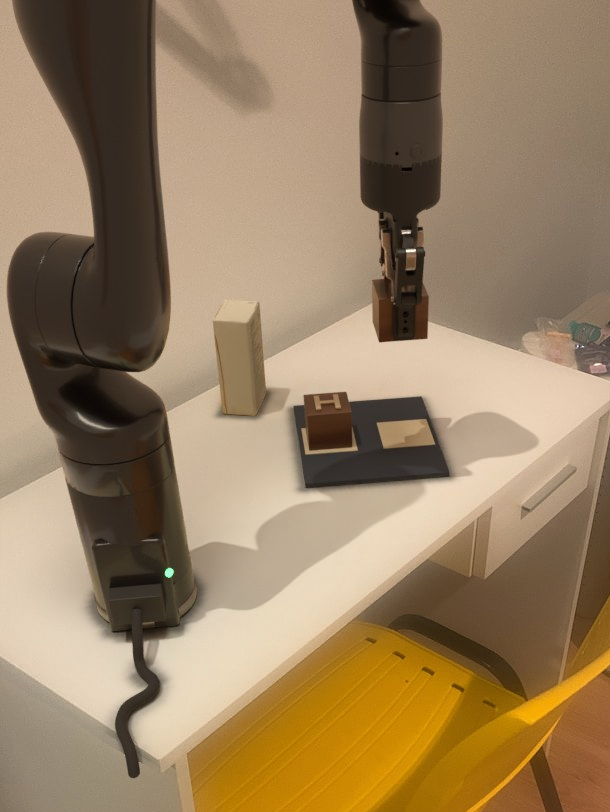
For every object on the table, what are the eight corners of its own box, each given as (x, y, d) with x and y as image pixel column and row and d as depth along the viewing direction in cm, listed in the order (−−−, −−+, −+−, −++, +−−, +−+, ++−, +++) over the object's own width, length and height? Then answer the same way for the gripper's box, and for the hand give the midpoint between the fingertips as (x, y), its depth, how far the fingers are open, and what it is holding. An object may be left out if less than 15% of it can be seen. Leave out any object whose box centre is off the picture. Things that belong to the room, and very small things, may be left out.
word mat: (449, 476, 106) (449, 471, 106) (305, 488, 105) (305, 482, 105) (421, 400, 120) (421, 395, 119) (293, 409, 118) (293, 404, 118)
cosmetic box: (234, 391, 122) (224, 297, 114) (268, 393, 122) (260, 299, 114) (221, 415, 118) (210, 319, 110) (257, 417, 117) (248, 321, 109)
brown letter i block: (427, 339, 97) (428, 293, 94) (378, 342, 97) (378, 297, 94) (419, 318, 101) (420, 274, 98) (372, 321, 101) (371, 277, 97)
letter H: (352, 447, 110) (351, 410, 107) (309, 450, 110) (307, 413, 107) (347, 426, 114) (346, 389, 111) (305, 429, 113) (303, 392, 110)
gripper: (350, 129, 92) (355, 301, 104) (369, 174, 82) (372, 361, 93) (427, 124, 93) (423, 296, 104) (456, 169, 82) (448, 355, 94)
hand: (399, 326), depth 99 cm, fingers closed on brown letter i block, 5 cm apart
